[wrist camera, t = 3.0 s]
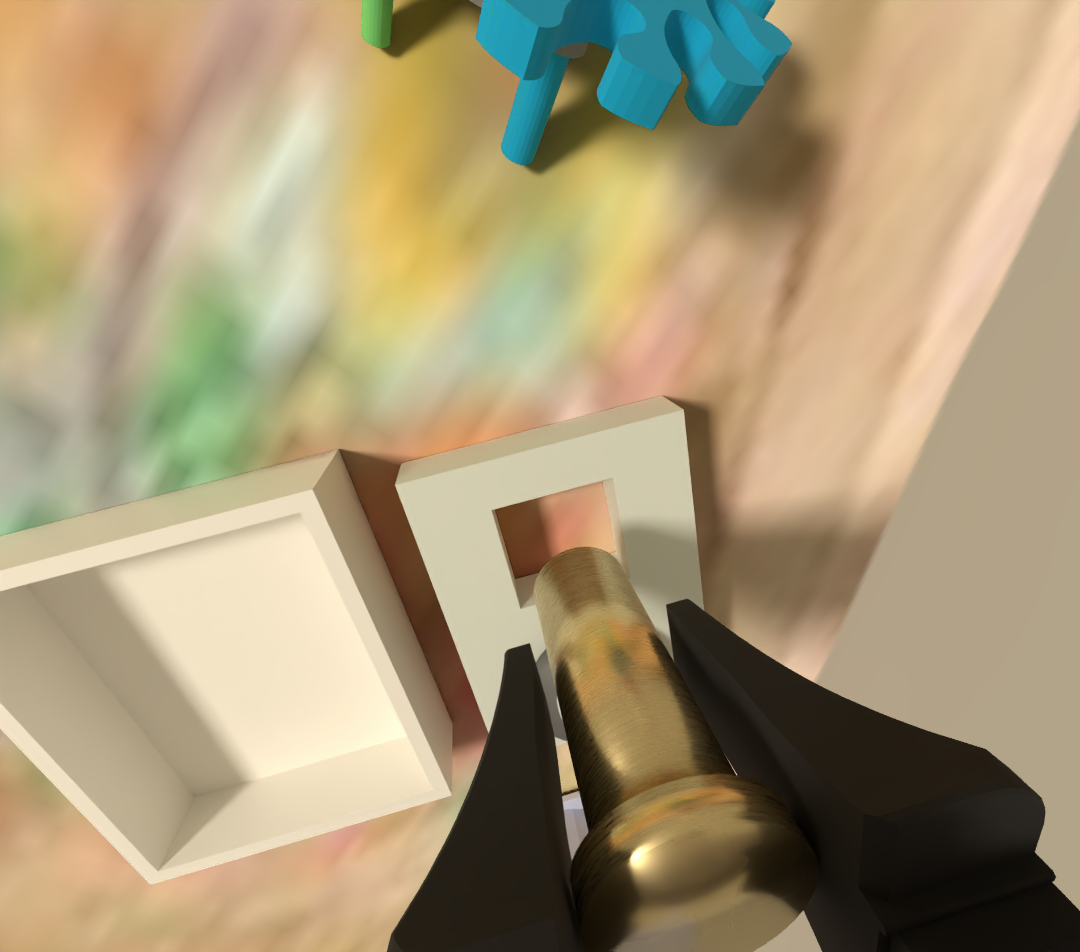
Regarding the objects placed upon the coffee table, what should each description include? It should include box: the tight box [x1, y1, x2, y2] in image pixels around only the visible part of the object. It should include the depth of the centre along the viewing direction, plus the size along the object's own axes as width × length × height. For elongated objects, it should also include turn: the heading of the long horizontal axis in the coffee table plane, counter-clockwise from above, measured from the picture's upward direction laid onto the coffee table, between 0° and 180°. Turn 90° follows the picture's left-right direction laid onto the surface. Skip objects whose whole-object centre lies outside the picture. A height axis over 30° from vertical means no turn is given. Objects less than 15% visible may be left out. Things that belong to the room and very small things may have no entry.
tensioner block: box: [395, 396, 704, 746], centre depth 20 cm, size 14×10×4 cm
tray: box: [0, 449, 453, 885], centre depth 19 cm, size 14×12×4 cm
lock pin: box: [534, 547, 819, 952], centre depth 12 cm, size 4×4×9 cm
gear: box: [362, 0, 792, 165], centre depth 12 cm, size 11×6×10 cm
